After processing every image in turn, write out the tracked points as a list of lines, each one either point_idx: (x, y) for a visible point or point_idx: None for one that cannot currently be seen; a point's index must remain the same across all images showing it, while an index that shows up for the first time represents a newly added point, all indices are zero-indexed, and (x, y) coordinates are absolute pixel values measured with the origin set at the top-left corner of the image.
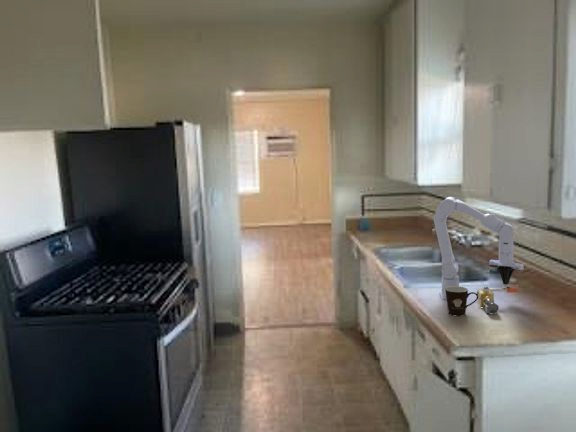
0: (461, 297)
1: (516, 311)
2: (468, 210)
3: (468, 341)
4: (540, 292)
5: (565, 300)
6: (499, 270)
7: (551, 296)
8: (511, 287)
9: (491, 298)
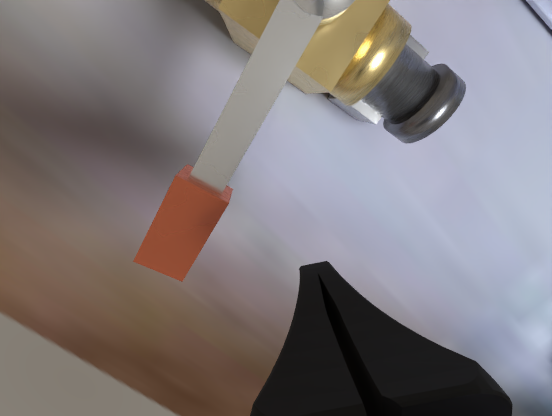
0: None
1: (110, 118)
2: None
3: None
4: None
5: (175, 396)
6: (426, 362)
7: (241, 393)
8: (188, 232)
9: None
